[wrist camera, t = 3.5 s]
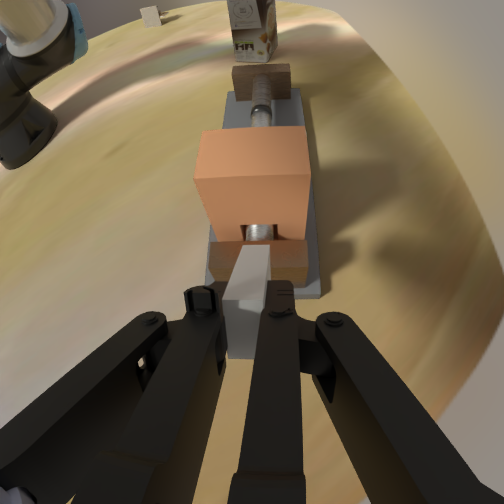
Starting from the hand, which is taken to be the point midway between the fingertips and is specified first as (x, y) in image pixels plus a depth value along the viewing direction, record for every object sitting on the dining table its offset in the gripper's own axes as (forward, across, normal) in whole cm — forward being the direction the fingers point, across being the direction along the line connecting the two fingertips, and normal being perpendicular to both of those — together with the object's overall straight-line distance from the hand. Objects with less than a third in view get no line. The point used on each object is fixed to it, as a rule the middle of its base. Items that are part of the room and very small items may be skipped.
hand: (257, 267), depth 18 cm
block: (+14, -1, -1) cm, 14 cm away
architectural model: (+65, -32, +47) cm, 86 cm away
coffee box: (+45, -2, +27) cm, 52 cm away
